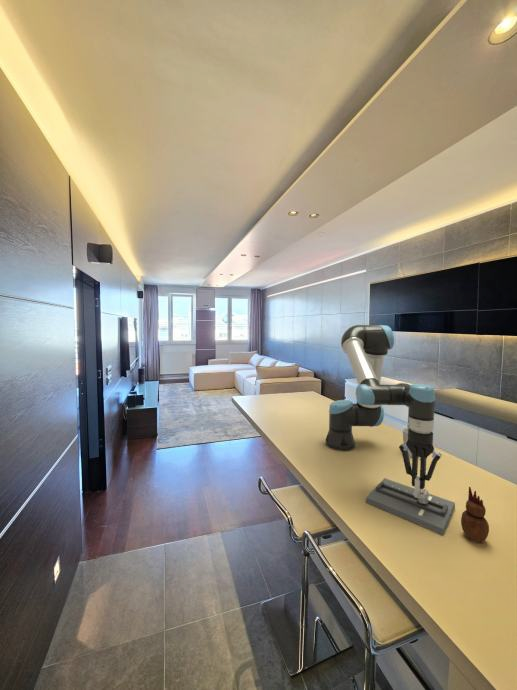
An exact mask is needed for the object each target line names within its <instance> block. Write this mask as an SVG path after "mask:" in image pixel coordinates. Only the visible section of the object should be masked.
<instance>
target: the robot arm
mask: <svg viewBox="0 0 517 690" xmlns="http://www.w3.org/2000/svg"><path fill="white" fill-rule="evenodd" d="M340 342H341V348H342V351H343V352H344V353H345V354H346V355H347V358H348V360H349V363H350V366H351V369H352V371H353V373H354V377H355V379H356V382H357V384H358V385H357V386H356V389H355V397H356V403H353V401H351V400H350V399H349V400H348V399H340V400H339V399H338V400H334V401H333V402H331V403H330V404H329V408H328V409H329V410H328V413H329V414H328V415H329V416H328V418H329V423H328V425H329V426H328V432H327V434H326V438H325V446H326V447H328V448H329V449H332V450H336V451H340V452H341V451H343V452H347V451H351V450H354V449H355V448H356V440H355V438H354V435H353V427H369V428H372V427H379V426H380V425H382V423H383V422H384V418H385V413H384V411H385V410H384V407H383V406H406V407H407V408H408V425H407V426H408V428H409V429H408V441H407V442H406V444H403V443H402V444H400V445H399V446H398V448H399V451H400V452H401V454H402V460H403V465H404V468H405V473H406V475H409V476H410V477H411V486H412V487H413V488H414V489H415V491H414V497H416V498H418V494H419V492H420V491H421V489H425V487H426V481H428V482H429V481H430V480H431V479H432V478H433V477H432V476H433V474H434V471H435V469H436V466H437V463H438V461H439V460H440V459H441V458H442V454H441V453H440V452H439V453H438V452H437V451H436V450H435V447H434V444H433V443H434V432H433V431H434V424H435V423H434V422H435V421H434V420H435V419H434V418H435V403H436V395H435V394H436V393H435V391H436V390H435V387H434V386H432V385H429V384H425V383H412V384H410V383H406V382H398V383H396V384H381V380H382V372H383V364H384V357H385V356H386V357H387V355H388V352H389V351H390V350H392V349H393V347H394V345H395V337H394V331H393V330H392V328H391V327H390V326H389V325H387V324H386V325H385V324H384V325H383V324H357V325H352V326H349V328H347V330H345V332H344V333H343V334H342V337H341V340H340ZM407 449H409V450H410V452H411V453H412V458H411V460H412V461H410V457H409V455H408V451H407ZM430 455H431V458H432V460H431V462H430V465H429V468H428V471H427V459H428V457H429V456H430ZM419 458H420V459H419ZM419 463H420V465H419ZM418 466H420V468H419V467H418ZM418 468H419V470H418ZM418 471H419V476H418ZM426 471H427V472H426Z"/></svg>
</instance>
